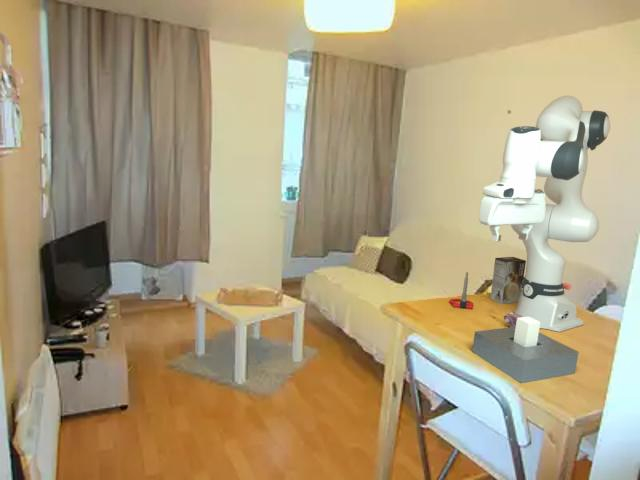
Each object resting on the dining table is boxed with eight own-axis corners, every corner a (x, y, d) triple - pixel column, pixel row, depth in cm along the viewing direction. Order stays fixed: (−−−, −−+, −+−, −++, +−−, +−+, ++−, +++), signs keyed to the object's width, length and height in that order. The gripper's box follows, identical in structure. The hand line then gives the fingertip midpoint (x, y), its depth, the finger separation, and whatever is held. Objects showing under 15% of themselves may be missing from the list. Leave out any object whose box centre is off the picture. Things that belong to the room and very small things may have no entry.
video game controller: (504, 330, 155) (499, 313, 152) (514, 323, 156) (510, 305, 153) (528, 343, 146) (524, 324, 143) (539, 335, 147) (535, 316, 144)
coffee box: (507, 296, 185) (513, 256, 182) (520, 302, 179) (527, 260, 176) (489, 298, 181) (495, 257, 178) (501, 304, 176) (507, 261, 172)
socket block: (522, 344, 140) (525, 325, 139) (574, 373, 124) (578, 351, 123) (472, 351, 133) (474, 331, 132) (521, 383, 117) (524, 360, 116)
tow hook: (447, 300, 178) (450, 307, 169) (451, 266, 176) (454, 271, 167) (471, 303, 177) (475, 310, 168) (475, 268, 175) (480, 274, 166)
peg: (522, 358, 131) (528, 316, 129) (533, 364, 128) (540, 322, 125) (510, 359, 130) (517, 317, 127) (521, 366, 126) (528, 323, 124)
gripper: (536, 187, 134) (529, 236, 137) (478, 187, 126) (472, 239, 129) (555, 190, 128) (547, 241, 132) (495, 191, 120) (488, 244, 124)
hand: (509, 240), depth 130 cm, fingers open, 8 cm apart
